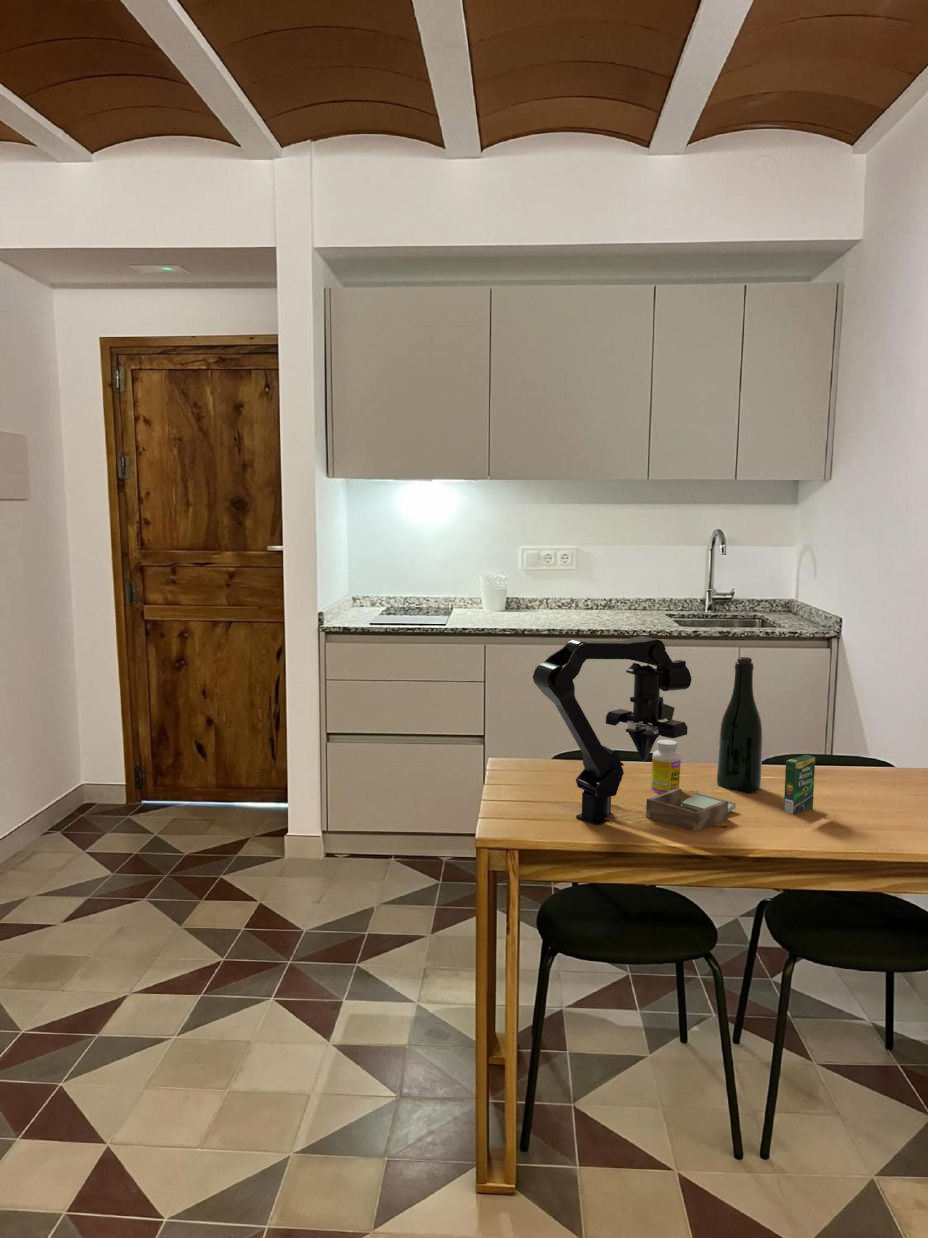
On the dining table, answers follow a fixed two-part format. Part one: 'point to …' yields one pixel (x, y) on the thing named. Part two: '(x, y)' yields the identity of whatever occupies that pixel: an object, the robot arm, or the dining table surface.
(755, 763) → the green wine bottle
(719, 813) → the brown hollow box
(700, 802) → the green grey flat panel
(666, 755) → the supplement bottle
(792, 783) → the coffee box
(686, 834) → the dining table surface
